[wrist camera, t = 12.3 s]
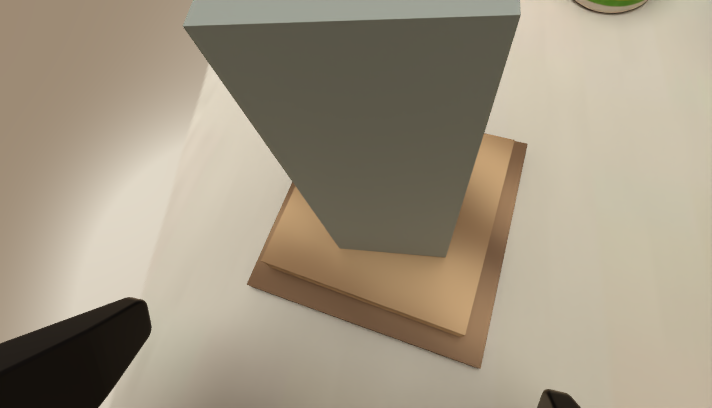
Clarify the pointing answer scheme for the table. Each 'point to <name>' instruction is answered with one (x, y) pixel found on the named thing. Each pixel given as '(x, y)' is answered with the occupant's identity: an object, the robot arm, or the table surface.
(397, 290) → the oak top slab
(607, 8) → the supplement bottle
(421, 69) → the slate block
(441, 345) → the walnut base slab
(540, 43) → the table surface
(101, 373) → the robot arm
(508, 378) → the table surface
